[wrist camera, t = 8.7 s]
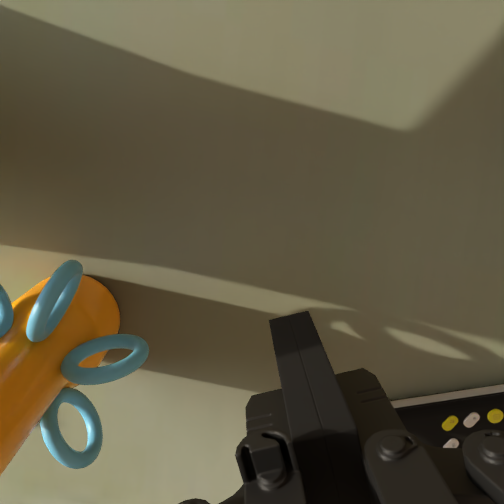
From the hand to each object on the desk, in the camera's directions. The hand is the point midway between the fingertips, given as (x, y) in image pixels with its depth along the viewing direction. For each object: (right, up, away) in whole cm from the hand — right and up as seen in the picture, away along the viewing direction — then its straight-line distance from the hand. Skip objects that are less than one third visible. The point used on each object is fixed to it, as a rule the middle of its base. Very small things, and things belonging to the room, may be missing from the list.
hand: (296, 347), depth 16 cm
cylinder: (-13, 0, +12) cm, 18 cm away
